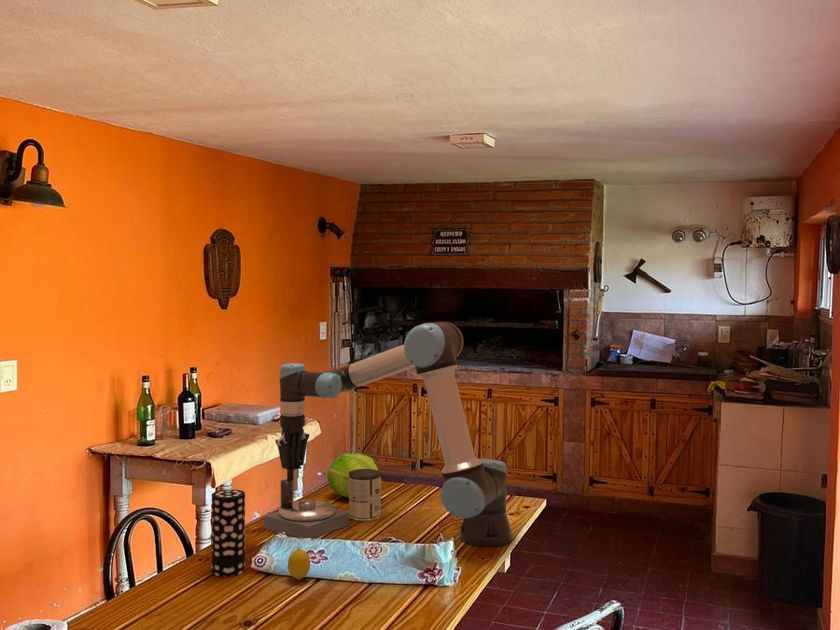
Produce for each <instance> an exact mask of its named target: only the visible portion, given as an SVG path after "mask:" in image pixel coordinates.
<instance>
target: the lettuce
mask: <svg viewBox="0 0 840 630" xmlns="http://www.w3.org/2000/svg"><path fill="white" fill-rule="evenodd" d="M357 469H375V470H379V469H378V466H377V464H375V461H374V459H373V457H370V456H368V455H365V454H363V453H359V452H358V453H357V452H356V453H350V452H345V453H342V454H340V455H338V456H337V457H336V458H335V460H334V461H333V462H332V464H331V465H330V466H329V467H328V470H327V475H326V478H327V481H328V484H329V486H330V488H331V489H332V491H334V492H335V493H336V494H338V495H339V496H342V497H345V498H348V499H349V472H350V471H352V470H357ZM382 482H383V481H382V480H381V485H382Z"/></svg>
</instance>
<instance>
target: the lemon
mask: <svg viewBox="0 0 840 630" xmlns="http://www.w3.org/2000/svg"><path fill="white" fill-rule="evenodd" d="M310 559H311V558H310V555H309V554H308V553H307V551H306V550H304V549H302V548H297V549H295V550H293V551H292V552H291V553H290V554H289V557H288V560H287V570H288V573H289V575H290V576H291V577H292V578H294V579H296V580H297V581H301V579H303V578H305V577H306V576H307V575H308V574H309V571H310V568H311V560H310Z"/></svg>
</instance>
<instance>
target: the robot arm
mask: <svg viewBox="0 0 840 630" xmlns="http://www.w3.org/2000/svg"><path fill="white" fill-rule="evenodd" d="M463 347H464V336H463V333H462V332H461V330H460V328H459V327H457V326H456V325H455V324H453V323H451V322H447V321H440V322H439V321H437V322H427V323H425V322H424V323H422V324H419V325H416V326H415V327H413V328H411V329H410V331H409V332H408V333H407V335H406V337H405V339H404V342H403V344H401V345H399V346H395V347H393V348H391V349H388V350H386V351H383V352H380V353H377V354H374V355H372V356H369V357H367V358H364V359H362V360H359V361H356V362H354V363H351V364H348V365H345V366H342V367H339V368H336V369H335V368H334V369H329V370H324V371H307V370H306V368H305V367H306V366H305V365H304V364H303V363H300V362H298V363H297V362H294V363H293V362H292V363H290V362H289V363H288V362H287V363H284V364H282V365H280V369H279V370H280V371H279V378H278V379H279V390H280V391H279V392H280V397H279V398H280V399H279V401H280V402H279V410H280V411H279V413H280V414H281V415H280V416H279V422H280V423H279V425H280V427H281V433H280V437H279V439H275V444H276V446H277V449H278V454H279V455H278V456H279V459H280V465H281V469H284V470H286V479H290V480H293V492H297V491H298V486H299V485H298V482H299V481H298V480H299V472H300V471H299V470H301V469H302V466H303V465H304V464H305V457H306V451H307V447H308V440H309V438H310V434H309V433H306V432H305V429H304V427H305V426H306V417H305V416H306V415H305V413H306V399H305V398H306V397H313V398H323V399H336V398H337V397H338V395H339V394H340V393H347V392H351V391H353V390H355V389H356V388H359V387H362V386H365V385H368V384H371V383H374V382H377V381H379V380H382V379H385V378H387V377H390V376H393V375H395V374H399V373H401V372H405V371H406V370H411V369H413V368H414V369H415V373H416V375H417V377H418V378H420V379H422V380H423V381H424V385H425V389H426V392H427V393H426V394H427V396H428V397H427V398H428V401H429V404H430V405H429V406H430V409H431V413H432V417H433V421H434V425H435V429H436V433H437V439H438V441H439V446H440V448H441V454H442V458H443V461H444V462H443V463H444V465H443V468H442V470H441V477H442V481H443V485H442V488H441V490H440V501H441V503H442V505H443V508H444V509H445V510H446V511H447V512H448V513H449V514H450V515H452V516H454V517H456V518H458V519H463V520H462V522H461V525H460V528H459V539H460V540H461V541H462V542H464V543H466V544H469V545H472V546H477V547H499V546H503V545H507V544H509V543H511V542H512V541H513V540H512V539H513V537H512V536H513V535H512V534H513V532H512V527H511V524H510V521H509V518H508V516H507V479H508V478H507V476H508V472H507V464H506V463H505V462H504V461H502V460H497V459H492V458H491V459H489V458H488V459H487V458H478V457H476V454H475V452H474V447H473V443H472V439H471V436H470V435H471V434H470V431H469V427H468V423H467V420H466V419H467V418H466V414H465V412H464V408H463V407H464V406H463V403H462V400H461V399H462V398H461V395H460V392H459V387H458V385H457V380H456V375H455V371H456V369H457V367H458V360H457V357H458V356H459V355H460V354H461V352H462V351H463V349H464V348H463Z"/></svg>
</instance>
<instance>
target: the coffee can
mask: <svg viewBox="0 0 840 630" xmlns="http://www.w3.org/2000/svg"><path fill="white" fill-rule="evenodd" d="M381 481H382V471H380V470H379V469H378V470H375V469H357V470H352V471H350V472H349V498H348V512H349V519H351V520H353V519H354V521H358V520H359V521H360V522H367V521H375V520H378V519H380V518H381V517H382V514H381V513H382V512H381V510H382V508H381V507H382V504H381V503H382V501H381V497H382V494H381V492H382V491H381V490H382V484H381ZM359 521H358V522H359Z"/></svg>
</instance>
